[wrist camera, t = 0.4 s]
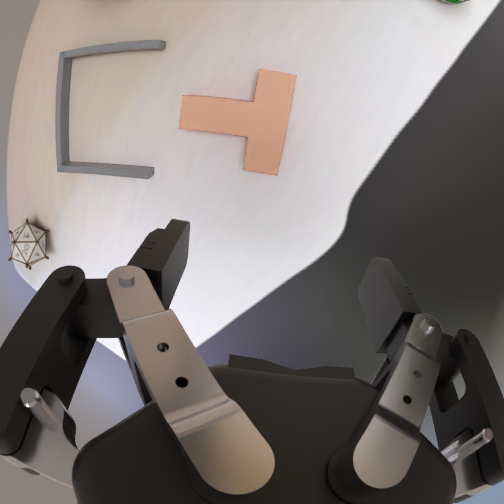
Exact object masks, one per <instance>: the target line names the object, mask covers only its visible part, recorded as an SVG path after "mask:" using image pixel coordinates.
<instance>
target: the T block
mask: <svg viewBox="0 0 504 504" xmlns="http://www.w3.org/2000/svg"><path fill="white" fill-rule="evenodd" d="M295 81H296V75H292V74H287V73H282V72H276V71H270V70H263V69H259V75H258V80H257V86H256V92H255V98H254V102H252V101H245V100H238V99H229V98H220V97H210V96H198V95H183V97H182V106H181V115H180V125H179V129H186V130H197V131H206V132H215V133H223V134H231V135H238V136H245V137H248V142H247V148H246V155H245V161H244V168H243V170H246V171H252V172H258V173H264V174H270V175H276V176H278V170H279V165H280V160H281V155H282V150H283V145H284V139H285V134H286V129H287V124H288V118H289V113H290V108H291V102H292V97H293V92H294V86H295Z"/></svg>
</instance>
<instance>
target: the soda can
mask: <svg viewBox="0 0 504 504" xmlns="http://www.w3.org/2000/svg"><path fill="white" fill-rule="evenodd" d="M441 1H443V2H446V3H449V4H458V3H462V2H465V1H469V0H441Z"/></svg>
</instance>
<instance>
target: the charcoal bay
mask: <svg viewBox="0 0 504 504" xmlns="http://www.w3.org/2000/svg"><path fill="white" fill-rule="evenodd" d="M165 44H166V42H165V41H162V40H145V41H131V42H121V43H112V44H104V45H97V46H91V47H85V48H79V49H74V50H69V51H64V52H60V55H59V64H58V74H57V89H56V156H57V171H58V172H70V173H85V174H99V175H111V176H122V177H133V178H143V179H149V178H150V177H151V176H152V175H154V167H144V166H133V165H120V164H105V163H88V162H69V134H68V121H69V91H70V77H71V66H72V58H75V57H81V56H87V55H94V54H102V53H110V52H120V51H132V50H151V49H165Z"/></svg>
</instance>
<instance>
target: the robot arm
mask: <svg viewBox="0 0 504 504" xmlns="http://www.w3.org/2000/svg"><path fill="white" fill-rule="evenodd" d="M189 233H190V222H188V221H182V220H176V219H172V220H171V221H170V222H169V224H168V225H167V227H166V228H165V229H159V228H158V229H156V230H154V231H152V232H151V233H149V234H148V236H147V237H146V238H145V240H144V242H143V243H142V244H141V245H140V248H138V250H137V251H136V253H135V254H134V255H133V257H132V258H131V260H130V261H129V263H128V264H127V266H121V267H118V268H115V269H114V270H112V271H111V272H110V273H109V274H108V276H107V278H104V279H85V274H84V272H83V270H82V269H81V268H79V267H76V266H64V267H61V268H58V269H56V270H55V271H54V272H52V273H51V275H50V276H49V277H48V278H47V280H46V281H45V282H44V284H43V285H42V286H41V288H40V289H39V290H38V292H37V293H36V295H35V296H34V297H33V299H32V300H31V302H30V303H29V304H28V306H27V307H26V309H25V310H24V312H23V313H22V315H21V316H20V318H19V319H18V321H17V322H16V324H15V325H14V327H13V328H12V330H11V331H10V333H9V335H8V336H7V338H6V339H5V341H4V343H3V344H2V346H1V348H0V456H1V457H3V458H4V459H6V460H7V461H9V462H10V463H12V464H13V465H15V466H17V467H20V468H22V469H24V470H25V471H27V472H29V473H31V474H35V475H37V474H38V475H39V474H42V475H44V476H46V477H48V478H50V479H52V480H54V481H57V482H59V483H61V484H63V485H66V486H68V487H71V488H73V489H74V492H75V495H76V498H77V502H78V504H453V502H454V503H458V502H460V501H463V500H465V499H467V498H470V497H472V496H474V495H476V494H478V493H480V492H482V491H484V490H486V489H488V488H490V487H492V486H494V485H496V484H497V483H499V482H501V481H503V480H504V398H503V395H502V393H501V390H500V387H499V385H498V382H497V380H496V377H495V375H494V373H493V370H492V368H491V366H490V364H489V361H488V359H487V357H486V355H485V352H484V350H483V348H482V346H481V344H480V342H479V340H478V339H477V337H476V336H475V335H474V334H473V333H472V332H470V331H469V330H467V329H459V330H458V332H457V333H456V334H455V336H454V337H453V336H450V335H447V334H445V333H442V327H441V325H440V324H439V322H438V321H437V320H436V319H434V318H433V317H432V316H430V315H428V314H425V313H422V311H421V309H420V307H419V306H418V303H417V301H416V299H415V297H414V296H413V295H412V292H411V290H410V289H409V286H408V284H407V283H406V281H405V279H404V278H403V277H402V276H401V275H400V274H399V273H398V272H397V271H396V269H395V268H394V266H393V264H392V262H391V261H390V260H388V259H383V258H378V257H374V258H373V259H372V260H371V262H370V264H369V267H368V269H367V271H366V273H365V275H364V278H363V280H362V282H361V284H360V287H359V299H360V302H361V306H362V308H363V312H364V315H365V318H366V321H367V324H368V328H369V331H370V334H371V337H372V341H373V344H374V348H375V351H376V353H387V355H388V356H387V357H386V359H385V360H384V361H383V363H382V365H381V367H380V369H379V370H378V372H377V374H376V376H375V378H374V379H373V381H372V383H371V384H369V383H368V382H366V381H364V380H361V379H358V378H355V374H354V369H353V368H345V367H331V366H324V367H316V368H310V369H302V370H293V369H289V368H287V367H284V366H280V365H277V364H275V363H272V362H269V361H266V360H263V359H257V358H250V357H243V356H237V355H231V354H230V356H229V360H228V364H217V365H213V366H208V367H207V366H206V364H205V363H204V361H203V360H202V358H201V357H200V355H199V353H198V352H197V350H196V348H195V347H194V345H193V344H192V342H191V340H190V339H189V337H188V335H187V334H186V332H185V330H184V329H183V327H182V325H181V323H180V322H179V320H178V318H177V317H176V315H175V313H174V312H173V310H171V309H169V306H170V304H171V301H172V299H173V296H174V294H175V291H176V289H177V286H178V284H179V282H180V279H181V277H182V274H183V272H184V270H185V267H186V263H187V258H188V247H189ZM97 338H118V339H119V342H120V345H121V347H122V350H123V353H124V355H125V358H126V361H127V363H128V365H129V368H130V371H131V373H132V376H133V378H134V381H135V384H136V387H137V389H138V392H139V394H140V397H141V399H142V401H143V403H144V407H142V408H141V409H139V410H138V411H136V412H135V413H133V414H132V415H130V416H129V417H127V418H126V419H124V420H122V421H121V422H119V423H118V424H116V425H115V426H113V427H112V428H110V429H108V430H107V431H105V432H103V433H102V434H100V435H99V436H97V437H95V438H94V439H92V440H90V441H89V442H88V443H87V444H85V445H84V446H83V447H82V448H81V450H78V448H77V446H76V442H75V435H76V424H75V421H74V419H73V417H72V416H71V414H70V413H69V412H68V408H69V405H70V402H71V400H72V397H73V394H74V392H75V389H76V387H77V384H78V381H79V379H80V376H81V374H82V372H83V369H84V367H85V364H86V362H87V359H88V357H89V355H90V353H91V350H92V348H93V346H94V343H95V341H96V339H97ZM460 373H461V374H462V376H463V379H464V382H465V385H466V391H465V394H464V396H463V397H462V398H461V399H460V400H459V399H458V396H457V393H456V390H455V387H454V384H453V380H454V379H455V378H456V377H457V376H458V375H459V374H460ZM429 406H430V410H431V414H432V418H433V422H434V427H435V432H436V437H437V442H438V447H439V450H438V449H437V448H436V447H435V446H434V445H433V444H432V443H431V442H430V441H429V440H428V439H427V438H426V437H425V436H424V435H423V434H422V433H421V432H420V429H421V426H422V423H423V421H424V418H425V415H426V412H427V410H428V407H429Z"/></svg>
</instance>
